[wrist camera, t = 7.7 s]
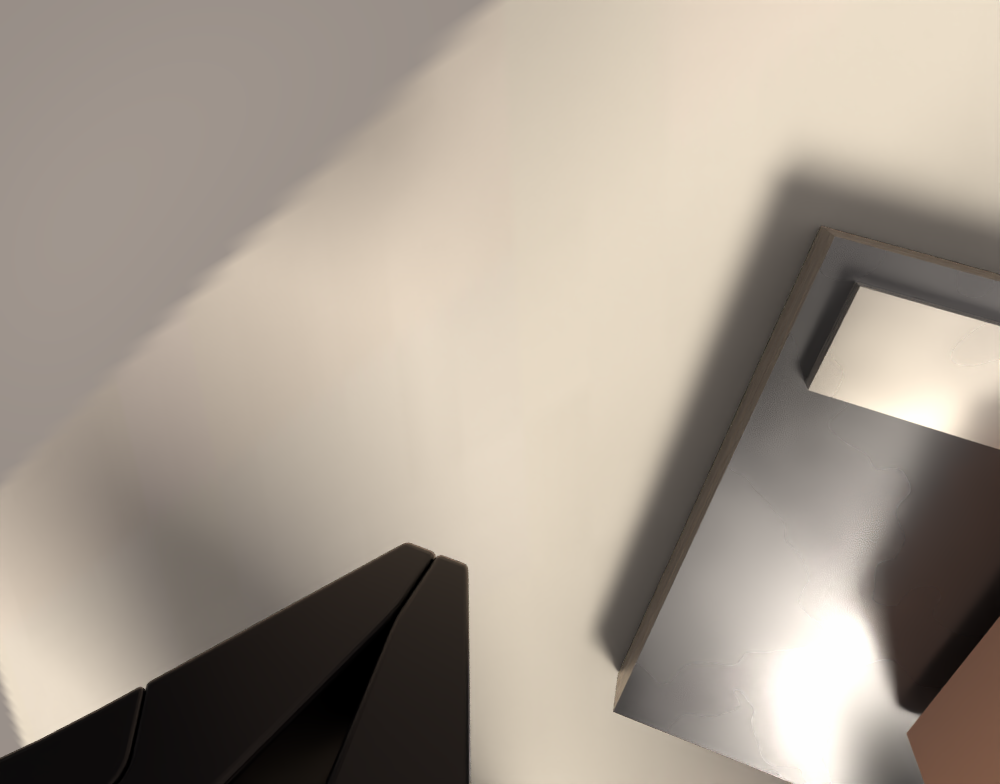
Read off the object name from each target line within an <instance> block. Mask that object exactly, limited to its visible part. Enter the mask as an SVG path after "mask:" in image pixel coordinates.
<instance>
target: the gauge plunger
mask: <svg viewBox="0 0 1000 784" xmlns="http://www.w3.org/2000/svg"><path fill="white" fill-rule="evenodd" d="M907 736H908V739H909V742H910V745H911V747H912V750H913V753H914V756H915V759H916V761H917V764H918V767H919V770H920V772H921V775H922V778H923V781H924V784H1000V617H999V618H998V619H997V620H996V622H995V623H994V624H993V625H992V627H991V628H990V629H989V631H988V632H987V633H986V634H985V636H984V637H983V638H982V639H981V641H980V642H979V643H978V644H977V646H976V647H975V648H974V649H973V651H972V652H971V653H970V654H969V656H968V657H967V658H966V659H965V661H964V662H963V663H962V664H961V666H960V667H959V668H958V669H957V671H956V672H955V673H954V674H953V676H952V677H951V678H950V679H949V681H948V682H947V683H946V684H945V686H944V687H943V688H942V689H941V691H940V692H939V693H938V694H937V696H936V697H935V698H934V699H933V701H932V702H931V703H930V704H929V706H928V707H927V708H926V709H925V711H924V712H923V713H922V714H921V716H920V717H919V718H918V719H917V721H916V722H915V723H914V725H913V726H912V727H911V728H910V730H909V731H908V732H907Z"/></svg>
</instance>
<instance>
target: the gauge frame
mask: <svg viewBox="0 0 1000 784" xmlns="http://www.w3.org/2000/svg"><path fill="white" fill-rule="evenodd" d="M999 617H1000V274H997V273H993V272H989V271H986V270H982V269H978V268H975V267H971V266H967V265H964V264H960V263H956V262H953V261H949V260H945V259H942V258H938V257H934V256H931V255H927V254H923V253H920V252H916V251H912V250H909V249H905V248H901V247H898V246H894V245H890V244H887V243H883V242H880V241H876V240H872V239H869V238H865V237H861V236H858V235H854V234H850V233H847V232H843V231H839V230H836V229H832V228H828V227H825V226H821V227H820V229H819V231H818V234H817V236H816V238H815V240H814V242H813V245H812V247H811V249H810V251H809V253H808V256H807V258H806V260H805V262H804V264H803V267H802V269H801V271H800V273H799V275H798V278H797V280H796V282H795V284H794V286H793V289H792V291H791V293H790V295H789V298H788V300H787V302H786V304H785V306H784V309H783V311H782V313H781V315H780V317H779V320H778V322H777V324H776V326H775V328H774V331H773V333H772V335H771V337H770V339H769V342H768V344H767V346H766V348H765V350H764V353H763V355H762V357H761V359H760V362H759V364H758V366H757V368H756V370H755V373H754V375H753V377H752V379H751V381H750V384H749V386H748V388H747V390H746V392H745V395H744V397H743V399H742V401H741V403H740V406H739V408H738V410H737V412H736V414H735V417H734V419H733V421H732V423H731V425H730V428H729V430H728V432H727V434H726V437H725V439H724V441H723V443H722V445H721V448H720V450H719V452H718V454H717V456H716V459H715V461H714V463H713V465H712V467H711V470H710V472H709V474H708V476H707V478H706V481H705V483H704V485H703V487H702V489H701V492H700V494H699V496H698V498H697V501H696V503H695V505H694V507H693V509H692V512H691V514H690V516H689V518H688V520H687V523H686V525H685V527H684V529H683V531H682V534H681V536H680V538H679V540H678V542H677V545H676V547H675V549H674V551H673V553H672V556H671V558H670V560H669V562H668V564H667V567H666V569H665V571H664V573H663V576H662V578H661V580H660V582H659V584H658V587H657V589H656V591H655V593H654V595H653V598H652V600H651V602H650V604H649V606H648V609H647V611H646V613H645V615H644V617H643V620H642V622H641V624H640V626H639V628H638V631H637V633H636V635H635V637H634V640H633V642H632V644H631V646H630V648H629V651H628V653H627V655H626V657H625V659H624V662H623V664H622V666H621V668H620V670H619V673H618V677H617V685H616V693H615V701H614V709H613V712H615V713H618V714H620V715H623V716H625V717H628V718H630V719H633V720H635V721H638V722H640V723H643V724H645V725H648V726H650V727H653V728H655V729H658V730H660V731H663V732H665V733H668V734H670V735H673V736H675V737H678V738H680V739H683V740H685V741H688V742H690V743H693V744H695V745H698V746H700V747H703V748H705V749H708V750H710V751H713V752H715V753H718V754H720V755H723V756H725V757H728V758H730V759H733V760H735V761H738V762H740V763H743V764H745V765H748V766H750V767H753V768H755V769H758V770H760V771H763V772H765V773H768V774H770V775H773V776H775V777H778V778H780V779H783V780H785V781H788V782H790V783H793V784H924V781H923V778H922V775H921V772H920V770H919V767H918V764H917V761H916V759H915V756H914V753H913V750H912V747H911V745H910V742H909V739H908V736H907V732H908V731H909V730H910V728H911V727H912V726H913V725H914V723H915V722H916V721H917V719H918V718H919V717H920V716H921V714H922V713H923V712H924V711H925V709H926V708H927V707H928V706H929V704H930V703H931V702H932V701H933V699H934V698H935V697H936V696H937V694H938V693H939V692H940V691H941V689H942V688H943V687H944V686H945V684H946V683H947V682H948V681H949V679H950V678H951V677H952V676H953V674H954V673H955V672H956V671H957V669H958V668H959V667H960V666H961V664H962V663H963V662H964V661H965V659H966V658H967V657H968V656H969V654H970V653H971V652H972V651H973V649H974V648H975V647H976V646H977V644H978V643H979V642H980V641H981V639H982V638H983V637H984V636H985V634H986V633H987V632H988V631H989V629H990V628H991V627H992V625H993V624H994V623H995V622H996V620H997V619H998V618H999Z"/></svg>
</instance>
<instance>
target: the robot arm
mask: <svg viewBox="0 0 1000 784" xmlns="http://www.w3.org/2000/svg"><path fill="white" fill-rule="evenodd" d="M0 784H471V756H470V670H469V584H468V567H467V566H466V564H464V563H462V562H459V561H456V560H454V559H451V558H448V557H446V556H443V555H440V556H437V557H436V556H435V554H434V552H432V551H430V550H428V549H425V548H422V547H420V546H417V545H414V544H412V543H404V544H402V545H400V546H398V547H396V548H394V549H392V550H391V551H389V552H387V553H385V554H383V555H381V556H380V557H378V558H376V559H374V560H372V561H370V562H369V563H367V564H365V565H363V566H361V567H359V568H357V569H356V570H354V571H352V572H350V573H348V574H346V575H345V576H343V577H341V578H339V579H337V580H335V581H334V582H332V583H330V584H328V585H326V586H324V587H323V588H321V589H319V590H317V591H315V592H313V593H312V594H310V595H308V596H306V597H304V598H302V599H301V600H299V601H297V602H295V603H293V604H291V605H290V606H288V607H286V608H284V609H282V610H280V611H279V612H277V613H275V614H273V615H271V616H269V617H267V618H266V619H264V620H262V621H260V622H258V623H256V624H255V625H253V626H251V627H249V628H247V629H245V630H244V631H242V632H240V633H238V634H236V635H234V636H233V637H231V638H229V639H227V640H225V641H223V642H222V643H220V644H218V645H216V646H214V647H212V648H211V649H209V650H207V651H205V652H203V653H201V654H200V655H198V656H196V657H194V658H192V659H190V660H188V661H187V662H185V663H183V664H181V665H179V666H177V667H176V668H174V669H172V670H170V671H168V672H166V673H165V674H163V675H161V676H159V677H157V678H155V679H154V680H152V681H150V682H149V683H148V684H147V686H146V690H145V689H144V688H143V687H138V688H136V689H135V690H133V691H131V692H129V693H127V694H125V695H124V696H122V697H120V698H118V699H116V700H114V701H113V702H111V703H109V704H107V705H105V706H103V707H101V708H100V709H98V710H96V711H94V712H92V713H90V714H88V715H86V716H84V717H82V718H80V719H78V720H76V721H74V722H72V723H71V724H69V725H67V726H65V727H63V728H61V729H59V730H57V731H55V732H53V733H51V734H49V735H47V736H45V737H43V738H41V739H40V740H38V741H35V742H33V743H31V744H29V745H27V746H25V747H23V748H20V749H18V750H16V751H14V752H12V753H10V754H8V755H5V756H3V757H1V758H0Z"/></svg>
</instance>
